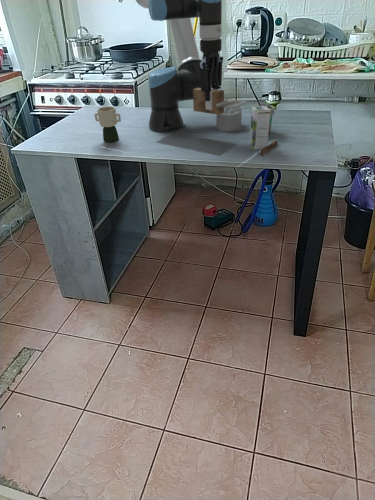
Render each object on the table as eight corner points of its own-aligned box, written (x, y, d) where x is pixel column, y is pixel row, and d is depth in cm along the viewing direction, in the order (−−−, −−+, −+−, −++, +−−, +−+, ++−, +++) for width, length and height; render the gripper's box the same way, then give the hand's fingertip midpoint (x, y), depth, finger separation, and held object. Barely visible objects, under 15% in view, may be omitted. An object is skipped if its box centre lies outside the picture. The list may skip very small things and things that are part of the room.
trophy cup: (127, 138, 159) (122, 106, 151) (120, 144, 153) (115, 111, 146) (102, 137, 161) (97, 105, 154) (95, 143, 156) (89, 110, 148)
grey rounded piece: (242, 123, 168) (242, 102, 163) (239, 132, 158) (240, 111, 153) (218, 122, 170) (218, 102, 165) (214, 132, 160) (214, 111, 155)
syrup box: (248, 145, 145) (250, 106, 137) (264, 144, 146) (266, 105, 137) (252, 151, 141) (254, 110, 132) (268, 149, 141) (271, 109, 132)
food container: (272, 138, 150) (274, 112, 145) (256, 138, 152) (258, 112, 146) (273, 128, 160) (275, 103, 154) (258, 128, 161) (259, 103, 156)
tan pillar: (189, 112, 148) (188, 90, 144) (201, 107, 153) (200, 86, 149) (235, 119, 138) (235, 96, 134) (245, 113, 143) (246, 91, 139)
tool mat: (155, 143, 152) (155, 142, 152) (174, 133, 161) (174, 132, 161) (219, 156, 138) (219, 155, 137) (237, 145, 146) (237, 144, 146)
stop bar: (260, 154, 137) (260, 150, 136) (274, 144, 145) (274, 140, 144) (263, 155, 137) (263, 151, 136) (277, 144, 144) (277, 140, 144)
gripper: (207, 42, 126) (208, 115, 139) (231, 35, 136) (230, 104, 150) (188, 41, 129) (191, 112, 143) (213, 35, 140) (214, 102, 153)
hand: (211, 108), depth 146 cm, fingers closed on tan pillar, 3 cm apart
